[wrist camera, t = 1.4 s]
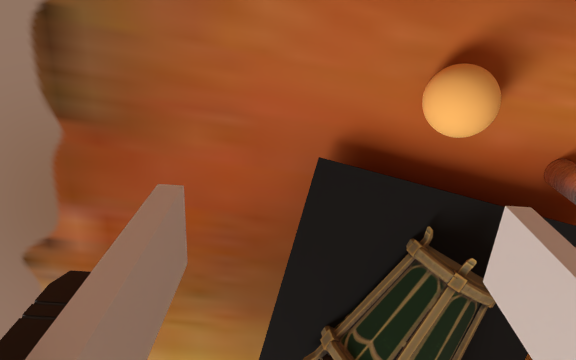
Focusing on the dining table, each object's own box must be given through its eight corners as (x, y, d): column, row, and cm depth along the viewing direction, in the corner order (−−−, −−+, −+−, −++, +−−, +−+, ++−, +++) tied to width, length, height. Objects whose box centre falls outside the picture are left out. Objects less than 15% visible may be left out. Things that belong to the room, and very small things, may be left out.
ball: (474, 127, 35) (503, 149, 30) (409, 124, 35) (427, 145, 30) (490, 60, 33) (524, 72, 28) (421, 56, 33) (442, 67, 28)
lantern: (536, 210, 43) (442, 466, 47) (317, 148, 43) (242, 407, 47) (640, 248, 29) (496, 603, 33) (320, 157, 30) (215, 518, 34)
